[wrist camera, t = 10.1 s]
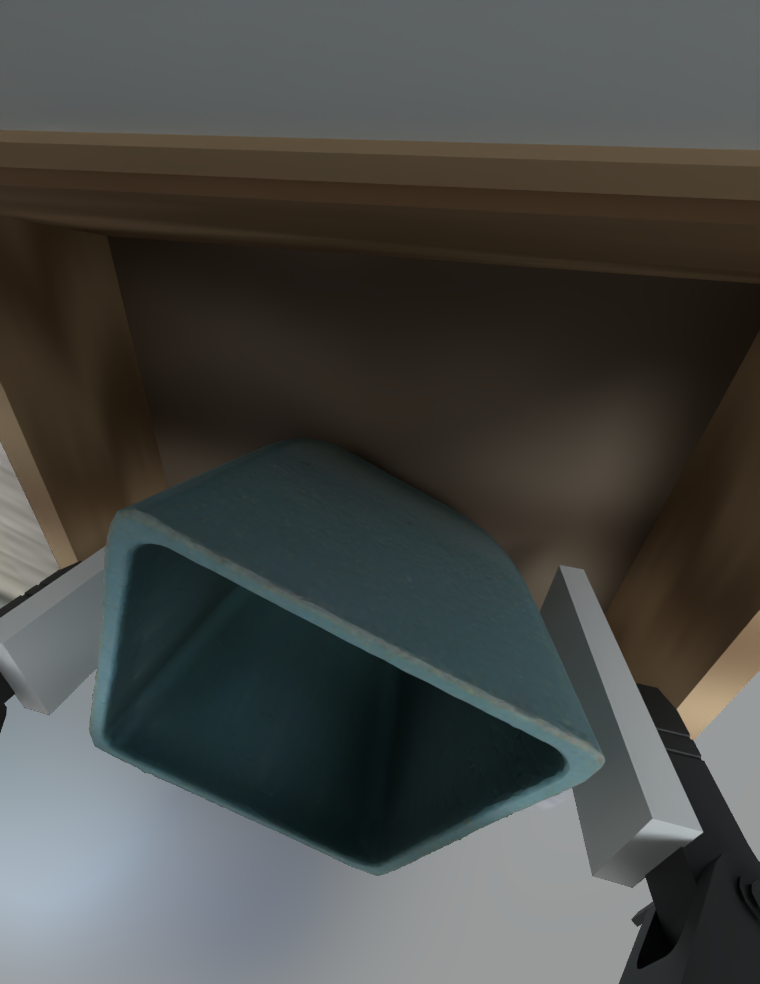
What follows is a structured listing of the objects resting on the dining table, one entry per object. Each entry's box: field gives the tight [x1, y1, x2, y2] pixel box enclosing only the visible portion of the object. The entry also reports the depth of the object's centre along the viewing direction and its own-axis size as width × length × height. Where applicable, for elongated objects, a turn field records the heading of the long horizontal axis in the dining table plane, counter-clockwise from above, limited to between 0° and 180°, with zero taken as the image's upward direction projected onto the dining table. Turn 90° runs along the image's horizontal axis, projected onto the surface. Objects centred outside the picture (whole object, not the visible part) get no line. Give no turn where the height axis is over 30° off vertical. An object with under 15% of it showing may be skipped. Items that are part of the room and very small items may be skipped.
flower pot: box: [89, 438, 606, 876], centre depth 11 cm, size 9×9×9 cm
